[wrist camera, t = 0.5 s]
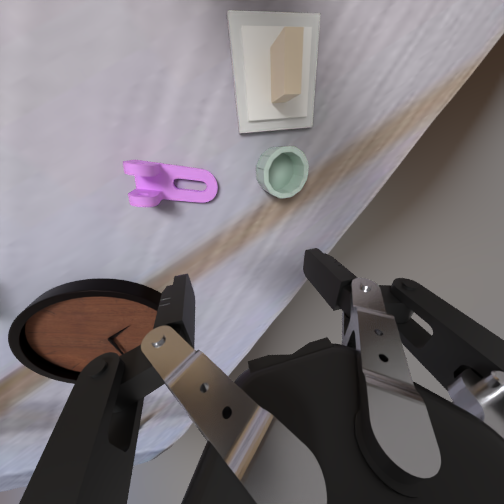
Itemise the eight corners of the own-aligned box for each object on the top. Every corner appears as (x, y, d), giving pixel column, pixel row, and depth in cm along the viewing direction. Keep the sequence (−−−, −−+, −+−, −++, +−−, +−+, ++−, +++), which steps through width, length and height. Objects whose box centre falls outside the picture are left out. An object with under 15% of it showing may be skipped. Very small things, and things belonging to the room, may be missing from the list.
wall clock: (-4, 277, 28) (197, 302, 40) (18, 263, 32) (197, 290, 44) (16, 389, 40) (167, 382, 52) (30, 370, 43) (169, 367, 55)
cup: (254, 149, 32) (262, 148, 28) (296, 144, 33) (310, 144, 29) (257, 195, 36) (265, 200, 32) (294, 189, 37) (306, 194, 33)
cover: (240, 28, 24) (251, -3, 19) (309, 29, 25) (335, 1, 21) (248, 121, 29) (257, 115, 24) (305, 116, 30) (324, 110, 26)
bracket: (140, 195, 31) (126, 205, 25) (135, 159, 28) (118, 162, 23) (216, 202, 35) (219, 212, 29) (217, 170, 32) (221, 175, 26)
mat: (226, 15, 23) (227, 10, 23) (316, 17, 26) (320, 13, 25) (238, 133, 30) (240, 133, 29) (309, 127, 32) (312, 126, 31)
